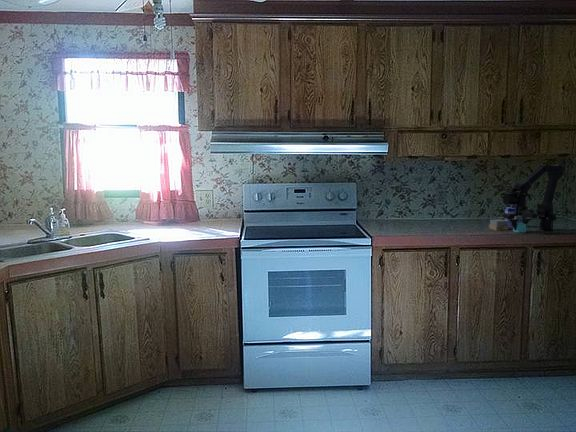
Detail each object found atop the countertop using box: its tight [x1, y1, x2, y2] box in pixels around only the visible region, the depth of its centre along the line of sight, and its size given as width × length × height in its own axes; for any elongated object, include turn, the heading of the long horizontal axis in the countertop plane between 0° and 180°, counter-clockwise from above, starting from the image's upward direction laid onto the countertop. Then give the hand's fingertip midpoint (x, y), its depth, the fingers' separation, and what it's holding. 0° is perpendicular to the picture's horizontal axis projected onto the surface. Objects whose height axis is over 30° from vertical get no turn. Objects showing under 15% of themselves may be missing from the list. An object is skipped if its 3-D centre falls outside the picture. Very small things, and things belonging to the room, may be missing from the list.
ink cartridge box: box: [504, 204, 523, 228], centre depth 311 cm, size 10×6×14 cm, turn 86°
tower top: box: [489, 218, 507, 226], centre depth 304 cm, size 7×7×3 cm
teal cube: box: [512, 223, 527, 234], centre depth 294 cm, size 5×5×5 cm
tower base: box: [488, 223, 509, 232], centre depth 304 cm, size 8×8×3 cm
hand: (519, 230), depth 294 cm, fingers closed on teal cube, 5 cm apart
